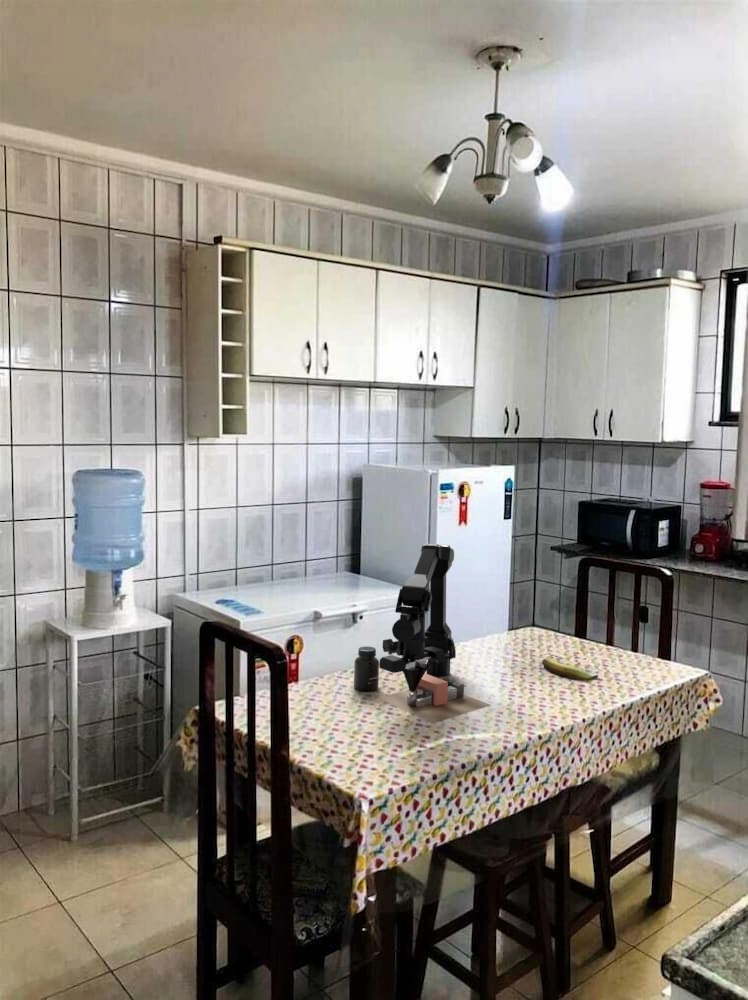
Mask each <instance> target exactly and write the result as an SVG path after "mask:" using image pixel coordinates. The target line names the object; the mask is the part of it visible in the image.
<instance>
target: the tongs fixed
mask: <svg viewBox="0 0 748 1000" xmlns="http://www.w3.org/2000/svg"><path fill="white" fill-rule="evenodd" d="M442 680H444V681H447V682H448V687H449V686H451V683H455V680H454V679H451V678H448V677H447V678H444V679H442ZM429 691H432V690H429V689H427V688H424V687H422V688H418V689H417V693H409V696H407V703H408V704H409V706H410V707H416V700H417V699H421V698H425V697H426V692H429Z"/></svg>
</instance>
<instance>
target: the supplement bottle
mask: <svg viewBox="0 0 748 1000" xmlns="http://www.w3.org/2000/svg"><path fill="white" fill-rule="evenodd" d="M376 649H377V648H375V647H373V646H360V647H358V653H357V655H358V656H357V657H356V658H355V659H354V668H353V671H354V672H353V690H355V691H356V692H359V693H374V692H377V691H378V690H379V680H380V679H379V677H380V676H379V675H380V672H379V671H380V670H379V669H380V668H379V662H380V659H379V658H377V653H376V651H377V650H376Z"/></svg>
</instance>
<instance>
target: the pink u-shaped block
mask: <svg viewBox="0 0 748 1000" xmlns="http://www.w3.org/2000/svg"><path fill="white" fill-rule="evenodd" d="M422 687H424V688H427V689H429V690H432V691H434V705H435V706H438V705H442V704H445V703H447V693H448V682H447V681H444V680H443V679H441V678H440V677H433V676H431V675H428V674H427V673H425V674H424V675H423V677H422V679H421V680H420V682H419V684H418V686H417V688H416V690H415V691H414V692H413V693H417V689H418V688H422Z"/></svg>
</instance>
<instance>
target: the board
mask: <svg viewBox="0 0 748 1000" xmlns="http://www.w3.org/2000/svg"><path fill="white" fill-rule="evenodd" d="M409 693H413V692H411V691H410V690H409V689H406V690H403V691H398V692H395V693H394V692H393V693H391V694H387V695H384V696H380V697H377V698H376V700H379V701H381V702H384V703H386V704H388V705H391V706H393V707H395V708H398V709H400V710H403V711H404V712H407V713H410V714H411V715H413V716H416V717H419V718H421V719H423V720H425V721H428V722H430V723H432V724H435V723H438V722H442V721H445V720H447V719H451V718H455V717H458V716H461V715H464V714H467V713H472V712H474V711H476V710H480V709H485V708H486V707H489V706H490V707H491V704H489V703H488V702H485V701H482V700H479V699H477V698H475V697H472V696H469V695H467V694H464V697H461V698H456V699H452V700H448V701H447V703H445V704H442V705H438V706H435V705H434V704H433V705H426V706H422V707H410V706H409V704H408V703H407V696H409Z"/></svg>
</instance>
